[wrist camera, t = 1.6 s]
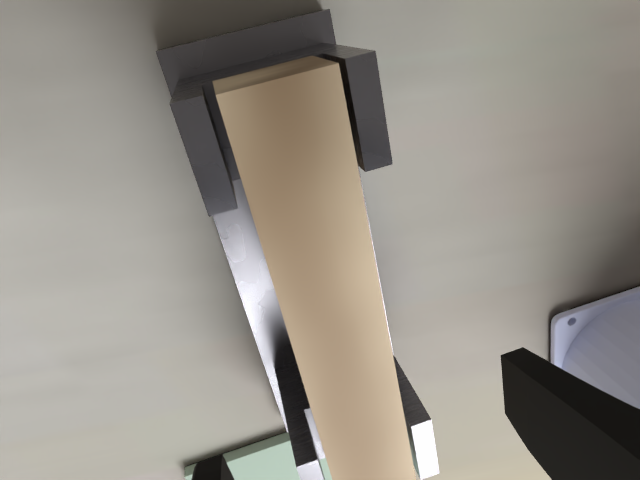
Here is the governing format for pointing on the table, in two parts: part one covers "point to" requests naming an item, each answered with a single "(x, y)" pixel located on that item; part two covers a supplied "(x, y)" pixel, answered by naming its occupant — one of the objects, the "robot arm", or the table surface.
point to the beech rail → (320, 257)
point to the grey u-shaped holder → (233, 208)
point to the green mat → (264, 461)
